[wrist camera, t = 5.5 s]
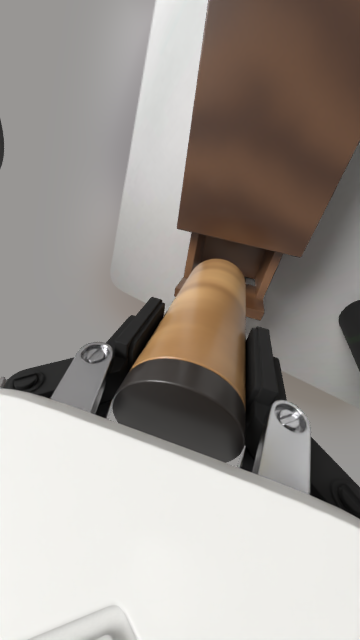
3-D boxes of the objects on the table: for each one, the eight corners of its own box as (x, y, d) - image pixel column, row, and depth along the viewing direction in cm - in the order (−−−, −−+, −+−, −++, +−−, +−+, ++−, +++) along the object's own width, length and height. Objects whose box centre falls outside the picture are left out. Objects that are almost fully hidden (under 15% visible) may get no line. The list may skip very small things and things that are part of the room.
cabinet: (287, 238, 25) (301, 257, 18) (195, 218, 27) (176, 228, 20) (360, 71, 17) (435, -8, 10) (225, 57, 19) (210, -20, 12)
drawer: (248, 318, 31) (248, 346, 26) (183, 299, 32) (169, 322, 27) (303, 191, 22) (321, 193, 16) (207, 173, 23) (194, 169, 18)
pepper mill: (183, 303, 18) (113, 438, 8) (194, 251, 16) (108, 361, 6) (235, 317, 18) (221, 479, 8) (254, 266, 15) (271, 415, 5)
